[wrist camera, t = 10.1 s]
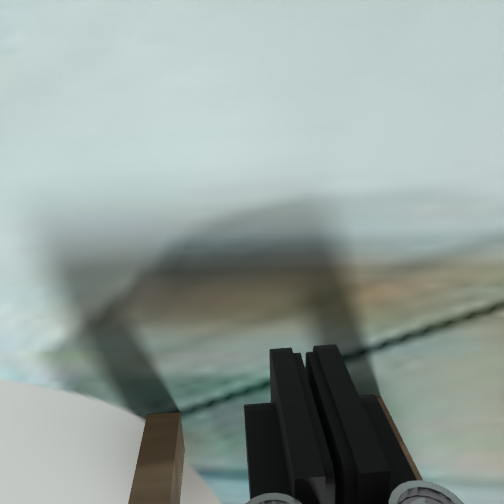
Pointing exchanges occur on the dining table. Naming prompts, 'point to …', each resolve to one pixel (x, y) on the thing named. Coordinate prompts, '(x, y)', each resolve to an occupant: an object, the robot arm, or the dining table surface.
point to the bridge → (182, 459)
